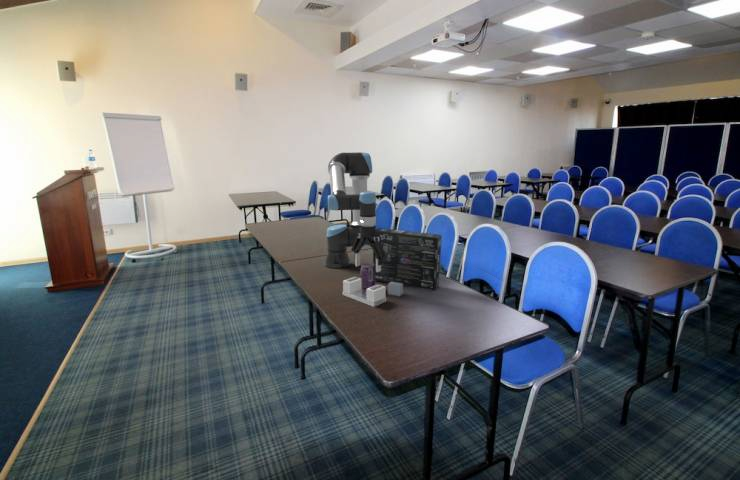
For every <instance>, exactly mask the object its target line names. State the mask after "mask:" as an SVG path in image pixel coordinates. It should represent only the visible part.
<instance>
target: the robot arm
mask: <svg viewBox="0 0 740 480" xmlns="http://www.w3.org/2000/svg"><path fill="white" fill-rule="evenodd" d="M327 172H328V174H329V177H330V194H329V195H327V209H328V211H352V222H351V223H350V226H349V227H348V226H347V225H346V224H335V225H332V226H329V227H327V229H326V248H327V249H326V250H327V251H326V252H327V253H326V256H325V259H324V266H325V267H326V266H327V267H326V268H330V267H331V268H330V269H343V268H342V267H344V268H346V267H349V266H350V265H351V259H350V256H349V253H348V248H351V249H350V251H352V252H353V253H354V260H355V262H354V263H355V267H359V266H361V252H360V251H361V250H362V248H365V247H371V249H372V252H373V251H374V253H375V255H376V256H377V258H376V272H379V271H381V265H382V258H384V257H386V255H385V253H384V250H383V247H382V244H381V240H380V237H375V233H376V229H377V226H376V224H377V222H376V221H377V220H376V219H377V214H376V213H377V209H376V207H377V204H376V203H377V194H376V193H375V192H374V191H368V179H369V178H370V174H372V173H373V162H372V156H371V155H370V153H369V152H362V151H360V152H340V153H337V154H336V155H334V156H333V157H332V158H331V159H330V161H329V162H328V166H327ZM345 174H348V175H349V178H350V179H351V182H352V186H351V187H352V189H351V191H352V192H351V193H352V194H347V187H346V180H345Z"/></svg>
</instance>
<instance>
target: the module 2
mask: <svg viewBox="0 0 740 480" xmlns="http://www.w3.org/2000/svg"><path fill="white" fill-rule="evenodd" d="M386 295H387V294H386V286H385V285H382V284H380V283H379V284H375V286H372V287H370V288H367V289H366V300H369V301H372V302H376V301H378V300H380V299H383V298H385V297H386ZM386 298H387V297H386Z"/></svg>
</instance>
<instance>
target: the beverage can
mask: <svg viewBox="0 0 740 480" xmlns="http://www.w3.org/2000/svg"><path fill="white" fill-rule="evenodd" d="M360 266H361V267H360V279H361V288H362V289H364V290H366V289H367V288H370V287H372V286H375V285H376V281H375V267H374V264H373V263H369V262H366V263H362V264H360Z"/></svg>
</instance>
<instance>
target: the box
mask: <svg viewBox="0 0 740 480" xmlns="http://www.w3.org/2000/svg"><path fill="white" fill-rule="evenodd" d="M375 237H380V240H381V244H382V247H383V250H384V253H385V255H386V257H384V258H382V265H381V271H379V272H376V258H377V256H376V255H375V253H374V251H373V250H372V264H374V267H375V282H382V283H383V282H384V283H387V284H389V283H390V282H397V283H402V284H403V287H404V286H405V287H410V288H417V289H423V290H428V291H435V290H436V289H438V287H439V283H440V282H439V281H440V271H441V270H440V268H441V267H440V266H441V255H442V254H441V250H442V234H435V233H427V232H419V231H408V230H403V229H402V230H400V229H390V228H376V233H375Z"/></svg>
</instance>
